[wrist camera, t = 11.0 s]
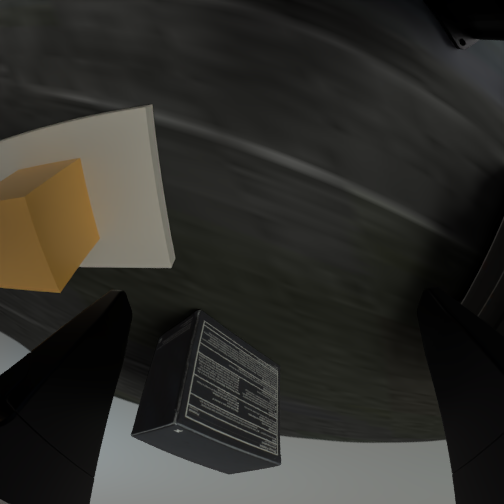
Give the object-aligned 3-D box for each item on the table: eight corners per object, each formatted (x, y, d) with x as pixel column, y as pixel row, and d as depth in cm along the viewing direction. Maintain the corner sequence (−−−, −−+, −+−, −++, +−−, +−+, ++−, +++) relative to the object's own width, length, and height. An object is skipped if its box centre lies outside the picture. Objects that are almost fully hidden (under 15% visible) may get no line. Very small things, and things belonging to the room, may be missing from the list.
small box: (155, 337, 28) (124, 437, 19) (199, 305, 25) (174, 421, 17) (235, 388, 32) (227, 477, 23) (283, 365, 29) (285, 465, 21)
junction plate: (152, 104, 17) (120, 117, 13) (175, 258, 23) (158, 301, 19) (-19, 147, 18) (-57, 168, 14) (16, 258, 24) (-11, 288, 20)
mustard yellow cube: (80, 157, 17) (24, 196, 12) (99, 238, 21) (60, 292, 16) (18, 169, 18) (-36, 207, 13) (39, 240, 21) (-2, 287, 16)
